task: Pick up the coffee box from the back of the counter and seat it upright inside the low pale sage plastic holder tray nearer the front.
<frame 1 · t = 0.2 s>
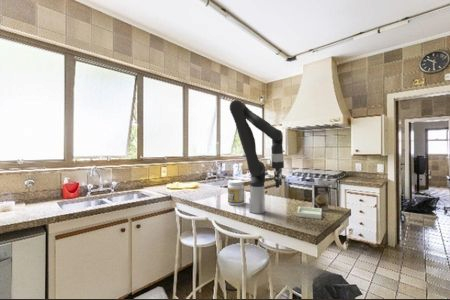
hand: (278, 186, 150), 18 cm above the table, tool pointing down, fingers open, 8 cm apart
coffee box: (320, 209, 159), on the table
supplement tub: (236, 204, 176), on the table
holder tray: (309, 214, 148), on the table
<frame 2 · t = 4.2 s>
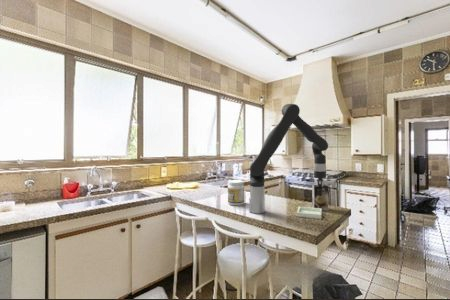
hand: (320, 194, 158), 10 cm above the table, tool pointing down, fingers closed on coffee box, 7 cm apart
coffee box: (320, 209, 159), on the table, touching gripper
everything else where it was.
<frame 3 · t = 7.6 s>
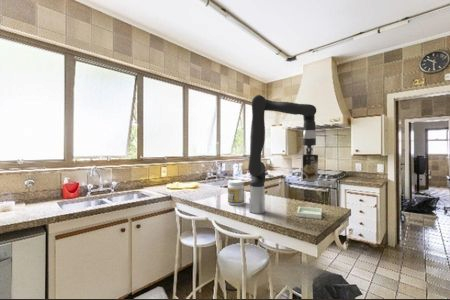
hand: (309, 164, 147), 32 cm above the table, tool pointing down, fingers closed on coffee box, 7 cm apart
coffee box: (309, 180, 147), point 21 cm above the table, touching gripper
everything else where it was.
when the fingers open (12 cm above the table, at t = 11.0 s): coffee box drops 1 cm, resting on holder tray.
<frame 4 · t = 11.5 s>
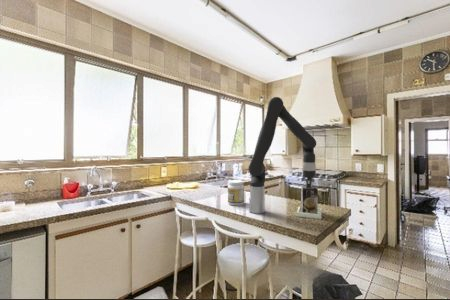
hand: (309, 195, 148), 12 cm above the table, tool pointing down, fingers open, 8 cm apart
coffee box: (309, 213, 148), resting on holder tray
everything else where it was.
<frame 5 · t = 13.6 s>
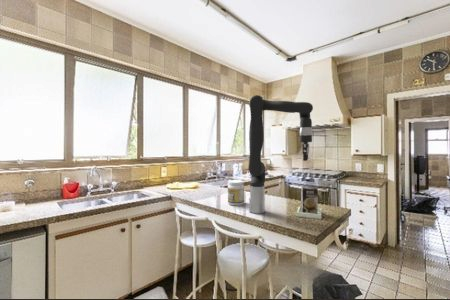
hand: (305, 160, 151), 34 cm above the table, tool pointing down, fingers open, 8 cm apart
nothing on the table moved.
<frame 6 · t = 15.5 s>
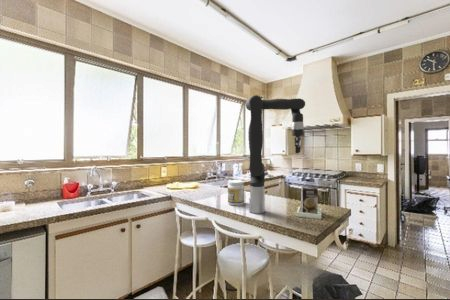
hand: (297, 152, 162), 38 cm above the table, tool pointing down, fingers open, 8 cm apart
nothing on the table moved.
at the end: coffee box 0.1 cm off-centre on the holder tray, point 0.4 cm above the holder tray's base; coffee box tilted 0°; the gripper is holding nothing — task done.
